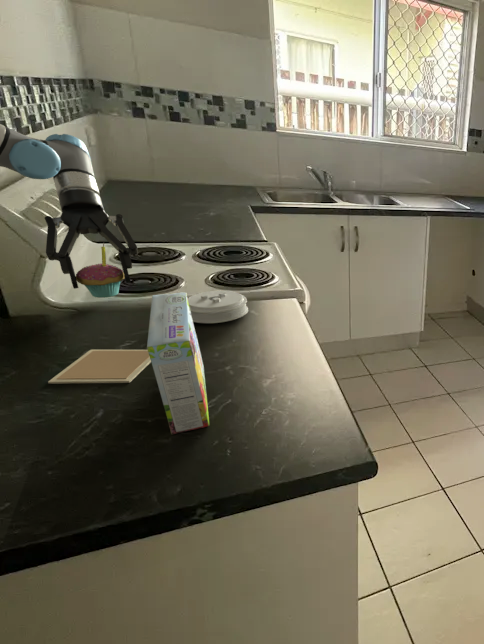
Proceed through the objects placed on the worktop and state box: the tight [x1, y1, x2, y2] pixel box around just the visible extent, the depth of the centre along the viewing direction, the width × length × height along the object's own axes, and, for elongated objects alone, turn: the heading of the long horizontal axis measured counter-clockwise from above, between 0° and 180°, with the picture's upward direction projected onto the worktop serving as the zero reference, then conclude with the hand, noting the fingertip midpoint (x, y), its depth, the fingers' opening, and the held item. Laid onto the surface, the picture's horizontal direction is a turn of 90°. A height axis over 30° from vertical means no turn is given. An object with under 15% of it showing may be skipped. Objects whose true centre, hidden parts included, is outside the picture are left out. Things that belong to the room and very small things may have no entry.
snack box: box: [146, 291, 210, 436], centre depth 76 cm, size 21×6×15 cm, turn 33°
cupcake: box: [75, 242, 125, 299], centre depth 108 cm, size 9×8×12 cm
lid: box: [187, 289, 249, 324], centre depth 108 cm, size 13×13×5 cm
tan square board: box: [47, 349, 152, 385], centre depth 86 cm, size 12×12×1 cm
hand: (102, 282), depth 106 cm, fingers closed on cupcake, 8 cm apart
